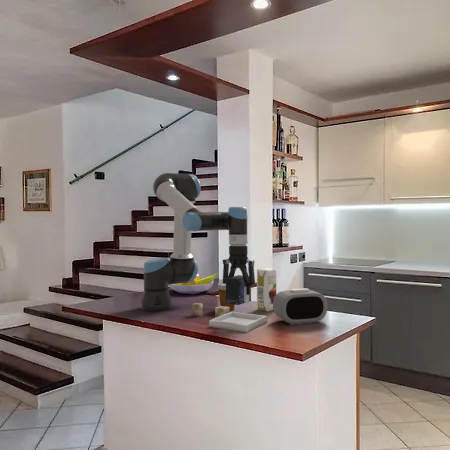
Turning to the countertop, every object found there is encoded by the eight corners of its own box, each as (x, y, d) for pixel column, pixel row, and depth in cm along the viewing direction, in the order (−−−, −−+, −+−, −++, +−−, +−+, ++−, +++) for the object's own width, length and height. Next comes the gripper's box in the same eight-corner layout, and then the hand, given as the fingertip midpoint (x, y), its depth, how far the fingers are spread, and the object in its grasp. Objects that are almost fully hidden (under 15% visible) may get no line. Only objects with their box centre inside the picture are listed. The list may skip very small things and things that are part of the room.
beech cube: (215, 318, 190) (215, 307, 190) (220, 316, 194) (220, 305, 194) (224, 319, 188) (224, 308, 188) (229, 317, 192) (229, 306, 192)
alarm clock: (282, 326, 175) (281, 292, 175) (272, 320, 184) (272, 288, 184) (328, 322, 181) (328, 289, 181) (317, 317, 190) (317, 286, 190)
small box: (239, 305, 172) (238, 278, 172) (225, 304, 176) (224, 277, 175) (252, 301, 181) (251, 275, 181) (238, 299, 185) (237, 274, 184)
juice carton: (254, 309, 205) (254, 269, 205) (265, 306, 212) (265, 267, 211) (267, 312, 200) (267, 270, 200) (278, 309, 207) (278, 268, 206)
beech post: (190, 315, 195) (190, 304, 195) (196, 313, 199) (196, 302, 199) (198, 316, 193) (198, 305, 193) (204, 314, 197) (204, 303, 196)
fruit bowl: (158, 293, 251) (158, 273, 250) (188, 286, 273) (188, 268, 273) (196, 298, 235) (196, 277, 234) (225, 290, 257) (225, 271, 257)
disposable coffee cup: (235, 312, 201) (235, 286, 201) (215, 311, 203) (215, 285, 202) (239, 307, 210) (239, 282, 210) (219, 307, 212) (219, 282, 212)
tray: (209, 326, 175) (209, 320, 175) (231, 317, 191) (231, 311, 191) (246, 332, 167) (246, 325, 167) (267, 322, 182) (267, 315, 182)
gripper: (212, 245, 180) (213, 301, 180) (255, 246, 170) (256, 305, 170) (222, 243, 186) (223, 298, 187) (263, 245, 176) (264, 302, 177)
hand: (238, 301), depth 178 cm, fingers closed on small box, 6 cm apart
